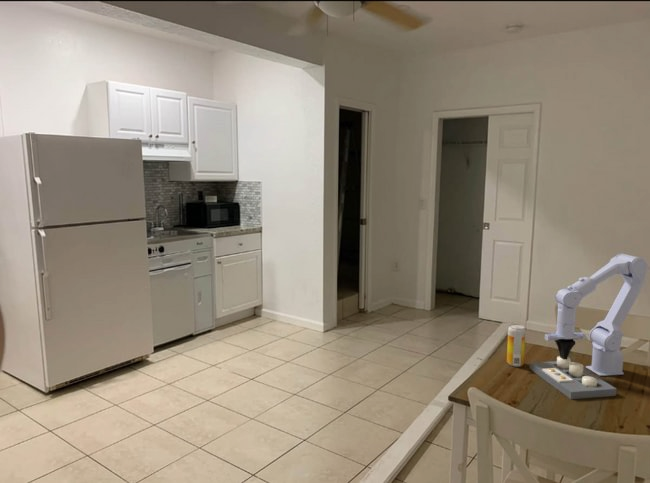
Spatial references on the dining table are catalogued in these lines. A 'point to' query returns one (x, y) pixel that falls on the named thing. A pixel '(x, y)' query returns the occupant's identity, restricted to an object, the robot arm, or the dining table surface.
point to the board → (576, 387)
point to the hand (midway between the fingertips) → (563, 358)
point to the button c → (589, 381)
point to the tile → (557, 375)
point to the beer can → (516, 345)
